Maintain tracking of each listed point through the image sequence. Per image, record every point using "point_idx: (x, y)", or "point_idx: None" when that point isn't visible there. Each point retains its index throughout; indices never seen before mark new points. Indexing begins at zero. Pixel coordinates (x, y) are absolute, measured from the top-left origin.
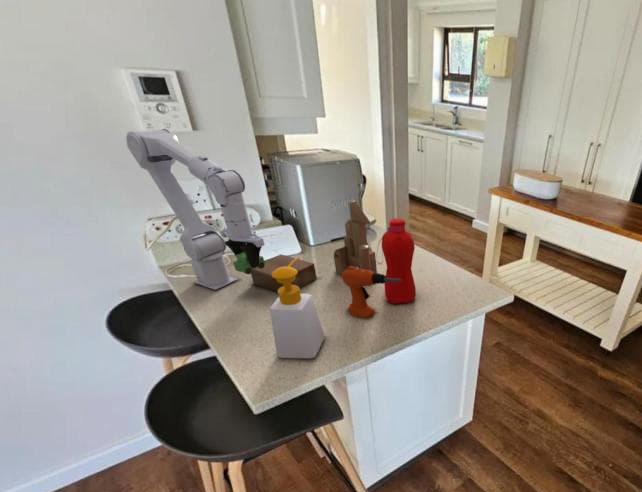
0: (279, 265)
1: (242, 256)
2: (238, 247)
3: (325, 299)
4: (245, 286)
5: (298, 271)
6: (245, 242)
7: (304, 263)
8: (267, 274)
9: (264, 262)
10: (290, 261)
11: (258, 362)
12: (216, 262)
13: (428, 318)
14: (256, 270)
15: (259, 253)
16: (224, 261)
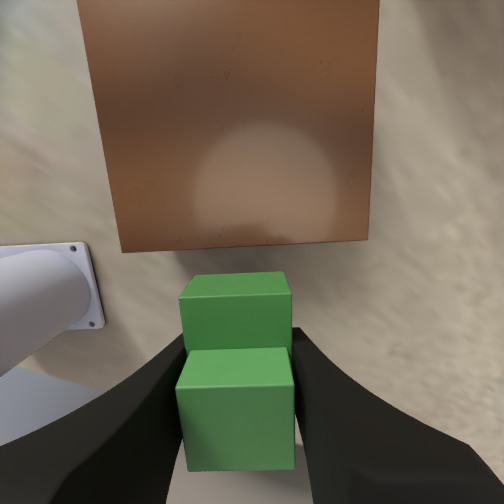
0: (224, 130)
1: (264, 468)
2: (149, 493)
3: (488, 163)
4: (153, 256)
5: (372, 120)
6: (117, 445)
7: (327, 5)
8: (265, 245)
9: (284, 275)
10: (228, 41)
11: (499, 458)
12: (2, 348)
13: None
14: (186, 248)
15: (352, 381)
16: None
